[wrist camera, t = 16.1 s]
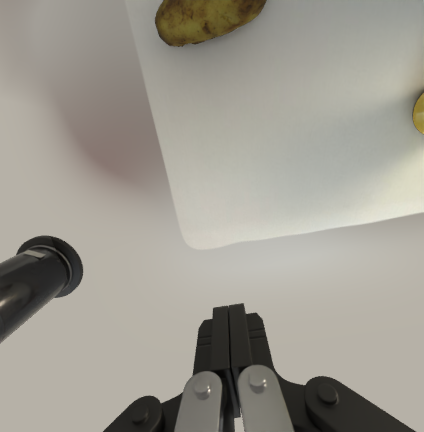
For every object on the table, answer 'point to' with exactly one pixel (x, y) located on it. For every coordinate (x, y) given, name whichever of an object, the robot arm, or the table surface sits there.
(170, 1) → the potato
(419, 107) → the flower pot
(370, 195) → the table surface
